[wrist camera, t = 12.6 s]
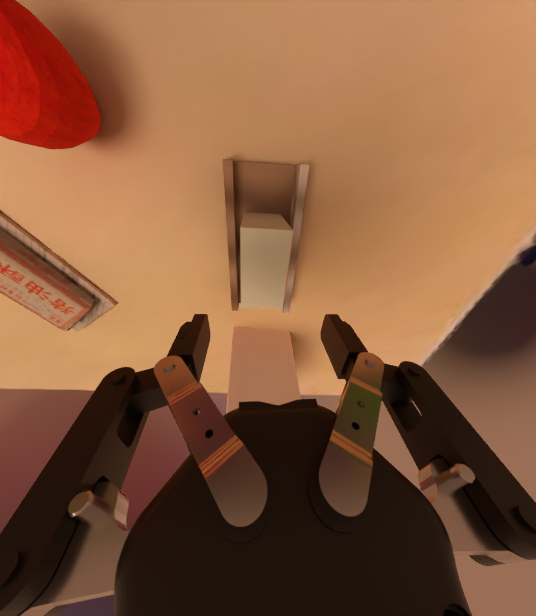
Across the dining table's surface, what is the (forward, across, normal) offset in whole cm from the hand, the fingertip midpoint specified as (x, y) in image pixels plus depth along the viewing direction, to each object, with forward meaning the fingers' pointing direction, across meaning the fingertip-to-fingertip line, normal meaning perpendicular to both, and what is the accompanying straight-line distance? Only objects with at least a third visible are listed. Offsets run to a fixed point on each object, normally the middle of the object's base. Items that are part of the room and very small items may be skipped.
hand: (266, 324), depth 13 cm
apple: (+20, +19, -14) cm, 31 cm away
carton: (+19, 0, 0) cm, 19 cm away
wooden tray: (+20, 0, 0) cm, 20 cm away
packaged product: (+21, +33, +6) cm, 40 cm away
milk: (+20, 0, +23) cm, 31 cm away
